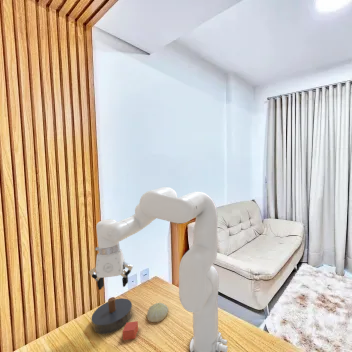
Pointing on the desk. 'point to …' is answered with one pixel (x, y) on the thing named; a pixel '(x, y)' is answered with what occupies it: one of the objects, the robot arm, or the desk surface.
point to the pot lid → (111, 311)
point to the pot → (112, 325)
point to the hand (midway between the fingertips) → (113, 286)
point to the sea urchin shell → (157, 312)
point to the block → (130, 330)
